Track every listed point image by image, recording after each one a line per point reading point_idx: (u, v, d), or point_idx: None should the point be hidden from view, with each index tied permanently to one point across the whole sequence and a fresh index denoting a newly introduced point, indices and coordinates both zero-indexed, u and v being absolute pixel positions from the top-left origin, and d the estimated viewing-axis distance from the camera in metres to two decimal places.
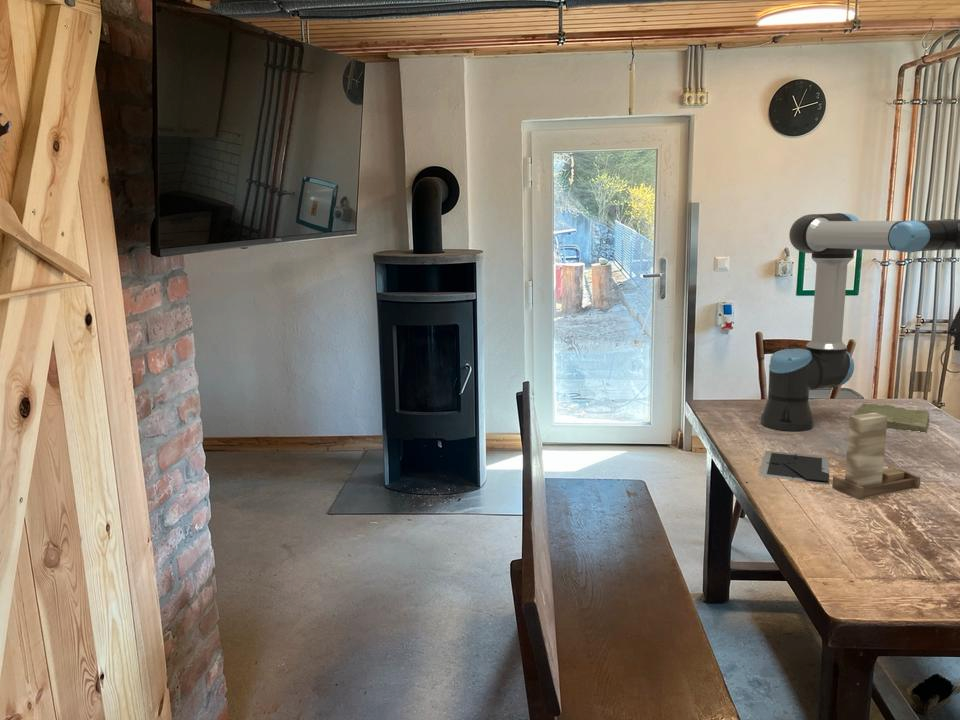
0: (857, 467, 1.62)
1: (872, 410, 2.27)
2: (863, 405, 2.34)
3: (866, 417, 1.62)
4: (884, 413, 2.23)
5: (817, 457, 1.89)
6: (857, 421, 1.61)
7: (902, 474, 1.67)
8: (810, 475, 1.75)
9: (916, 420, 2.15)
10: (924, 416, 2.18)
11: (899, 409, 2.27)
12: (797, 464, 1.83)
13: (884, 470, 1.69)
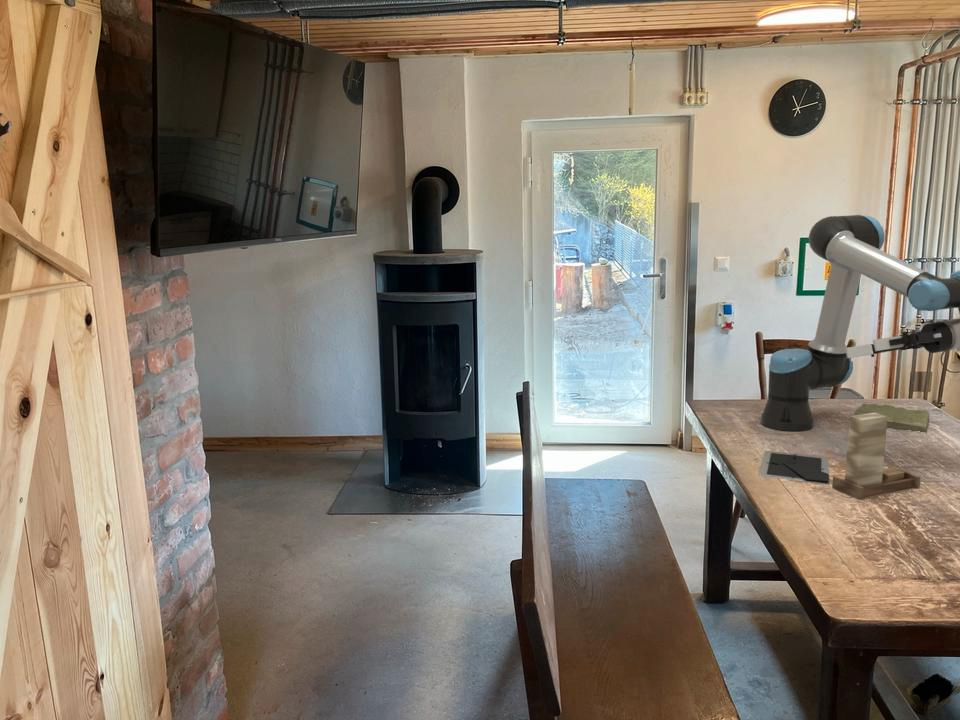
0: (857, 467, 1.62)
1: (872, 410, 2.27)
2: (863, 405, 2.34)
3: (866, 417, 1.62)
4: (884, 413, 2.23)
5: (817, 457, 1.89)
6: (857, 421, 1.61)
7: (902, 474, 1.67)
8: (810, 475, 1.75)
9: (916, 420, 2.15)
10: (924, 416, 2.18)
11: (899, 409, 2.27)
12: (797, 464, 1.83)
13: (884, 470, 1.69)
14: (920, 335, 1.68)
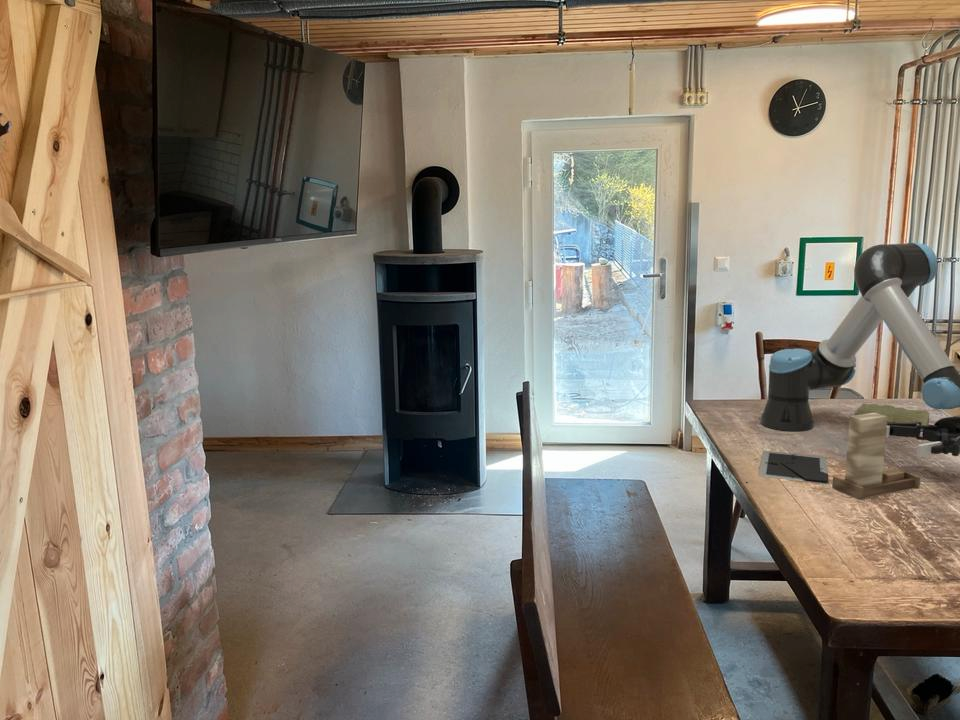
0: (857, 467, 1.62)
1: (872, 410, 2.27)
2: (863, 405, 2.34)
3: (866, 417, 1.62)
4: (884, 413, 2.23)
5: (815, 457, 1.89)
6: (857, 421, 1.61)
7: (902, 474, 1.67)
8: (809, 475, 1.75)
9: (916, 420, 2.15)
10: (924, 416, 2.18)
11: (899, 409, 2.27)
12: (795, 464, 1.83)
13: (884, 470, 1.69)
14: None
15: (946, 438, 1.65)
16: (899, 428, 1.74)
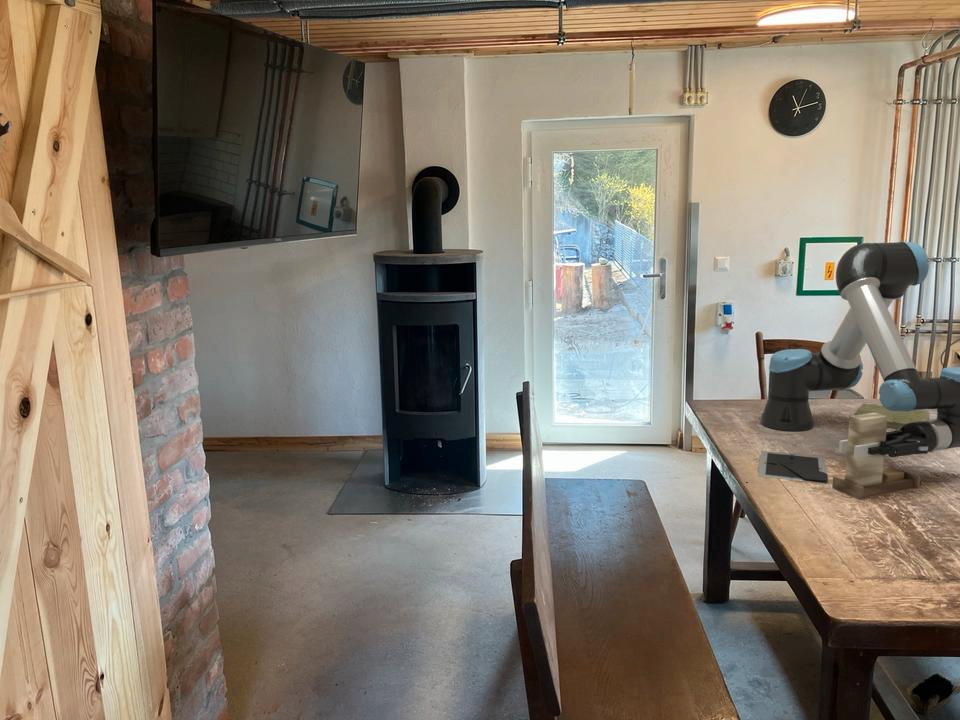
0: (857, 467, 1.62)
1: (872, 410, 2.27)
2: (863, 405, 2.34)
3: (866, 417, 1.62)
4: (884, 413, 2.23)
5: (813, 457, 1.89)
6: (857, 421, 1.61)
7: (902, 474, 1.67)
8: (808, 475, 1.75)
9: (916, 420, 2.15)
10: (924, 416, 2.18)
11: None
12: (794, 464, 1.83)
13: (884, 470, 1.69)
14: (901, 448, 1.60)
15: (894, 441, 1.64)
16: None
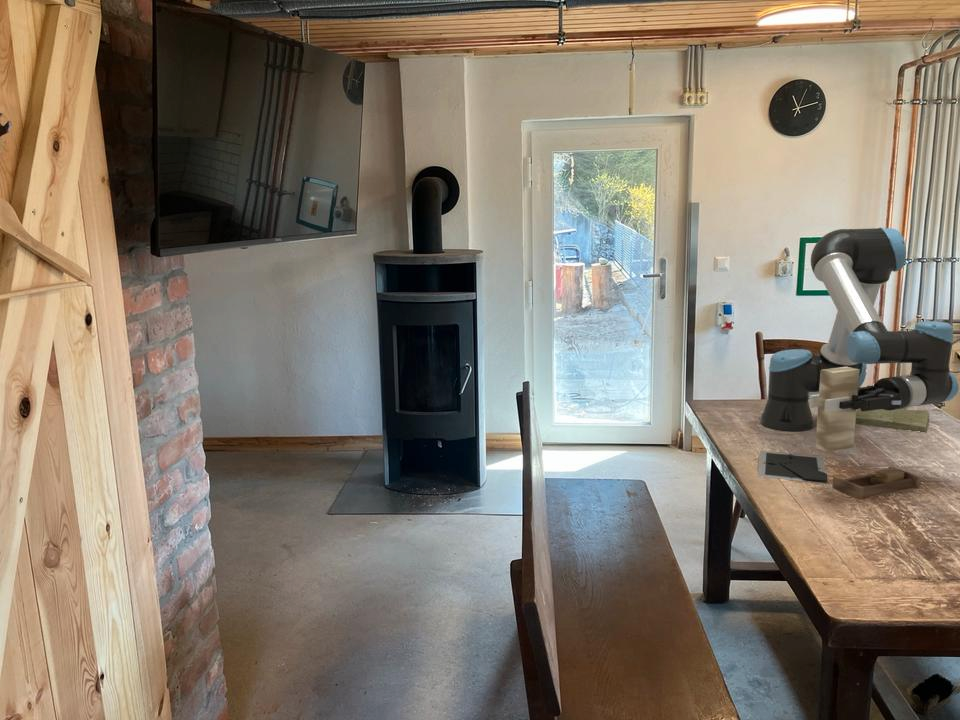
0: (829, 422, 1.57)
1: (872, 410, 2.27)
2: None
3: (837, 370, 1.56)
4: (884, 413, 2.23)
5: (812, 456, 1.90)
6: (828, 375, 1.56)
7: (902, 474, 1.67)
8: (808, 475, 1.75)
9: (916, 420, 2.15)
10: (924, 416, 2.18)
11: (899, 409, 2.27)
12: (793, 464, 1.83)
13: (884, 470, 1.69)
14: (873, 402, 1.55)
15: (867, 395, 1.58)
16: None
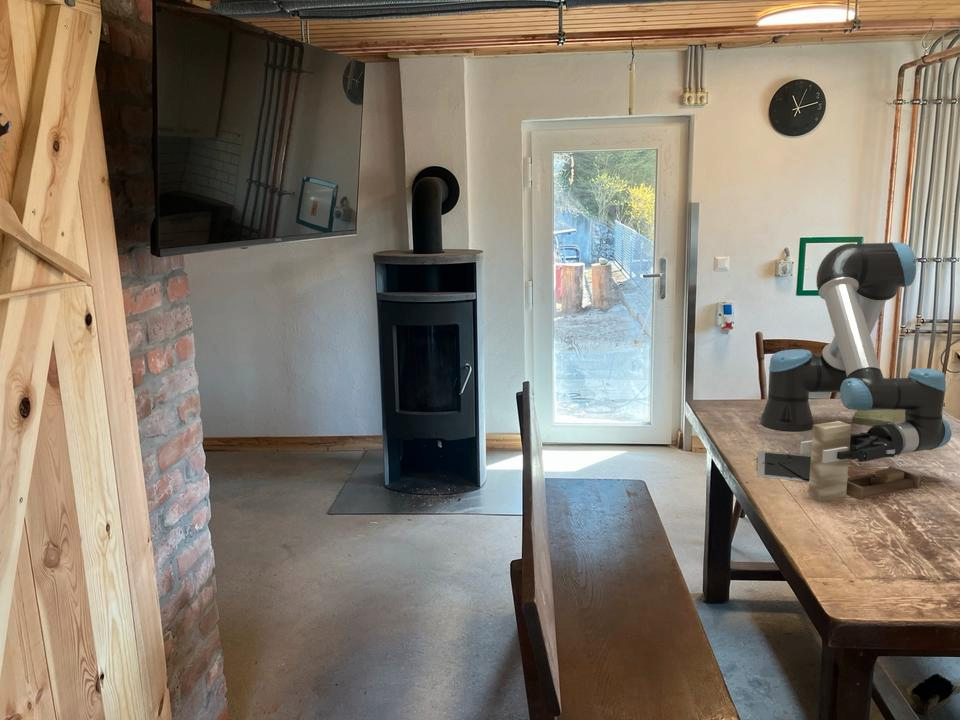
0: (821, 477, 1.59)
1: (872, 410, 2.27)
2: None
3: (829, 426, 1.59)
4: (884, 413, 2.23)
5: (810, 456, 1.90)
6: (820, 430, 1.58)
7: (902, 474, 1.67)
8: (807, 475, 1.75)
9: None
10: None
11: None
12: (792, 464, 1.83)
13: (884, 470, 1.69)
14: (870, 453, 1.56)
15: (862, 445, 1.59)
16: None
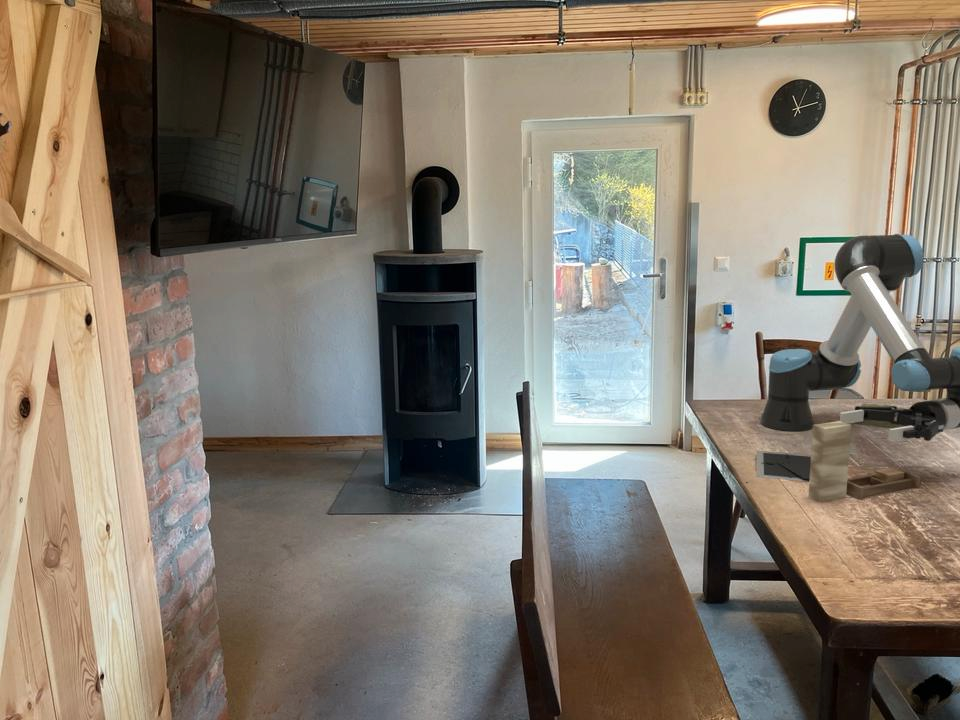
0: (821, 477, 1.59)
1: None
2: (863, 405, 2.34)
3: (830, 426, 1.59)
4: None
5: (808, 456, 1.90)
6: (820, 430, 1.58)
7: (902, 474, 1.67)
8: (807, 475, 1.75)
9: None
10: None
11: None
12: (791, 464, 1.83)
13: (884, 470, 1.69)
14: (933, 430, 1.58)
15: (919, 422, 1.62)
16: (873, 412, 1.72)
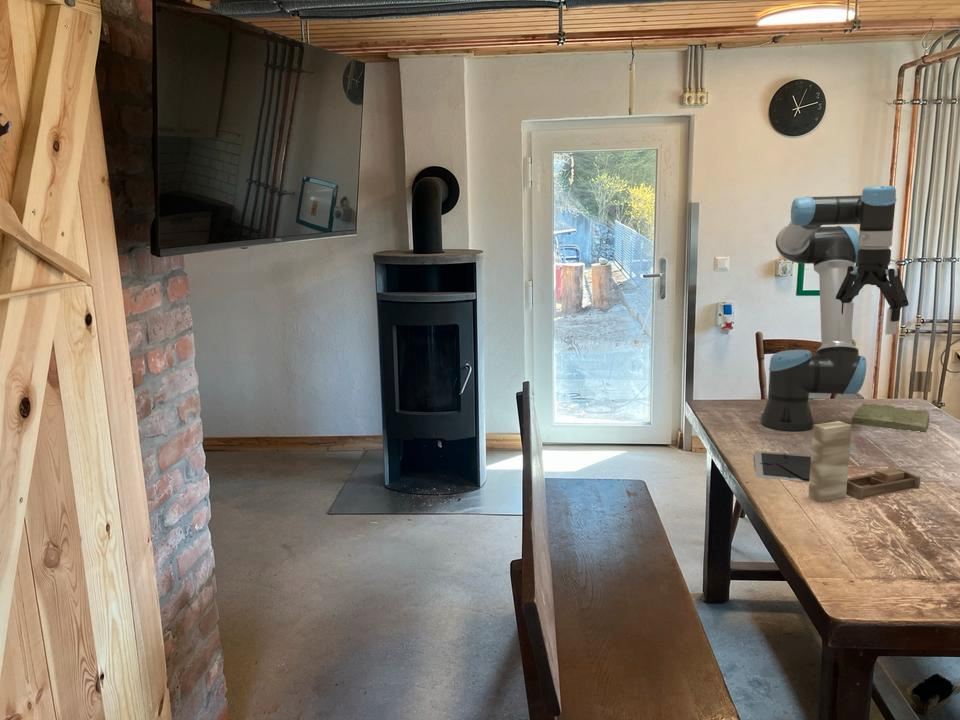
0: (821, 477, 1.59)
1: (872, 410, 2.27)
2: (863, 405, 2.34)
3: (830, 426, 1.59)
4: (884, 413, 2.23)
5: (806, 456, 1.90)
6: (820, 430, 1.58)
7: (902, 474, 1.67)
8: (806, 475, 1.75)
9: (916, 420, 2.15)
10: (924, 416, 2.18)
11: (899, 409, 2.27)
12: (790, 464, 1.84)
13: (884, 470, 1.69)
14: None
15: None
16: None
